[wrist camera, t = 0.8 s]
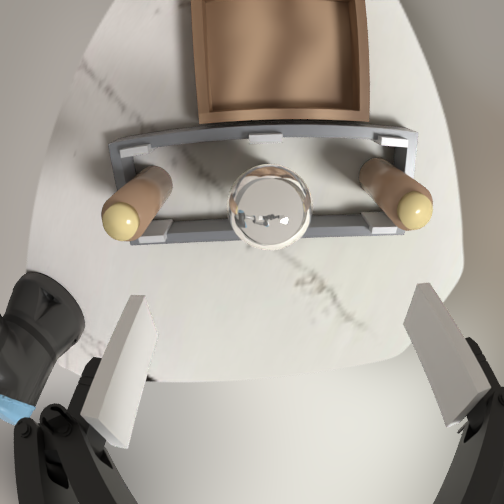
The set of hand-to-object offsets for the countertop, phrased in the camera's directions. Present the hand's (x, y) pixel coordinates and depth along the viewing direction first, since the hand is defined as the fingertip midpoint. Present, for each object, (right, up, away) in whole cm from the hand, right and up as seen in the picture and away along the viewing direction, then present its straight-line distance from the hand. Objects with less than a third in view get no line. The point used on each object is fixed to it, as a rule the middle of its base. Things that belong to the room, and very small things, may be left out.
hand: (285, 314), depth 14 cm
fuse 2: (+12, +11, +17) cm, 24 cm away
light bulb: (0, +11, +18) cm, 21 cm away
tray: (+1, +22, +10) cm, 25 cm away
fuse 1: (-13, +10, +18) cm, 24 cm away
